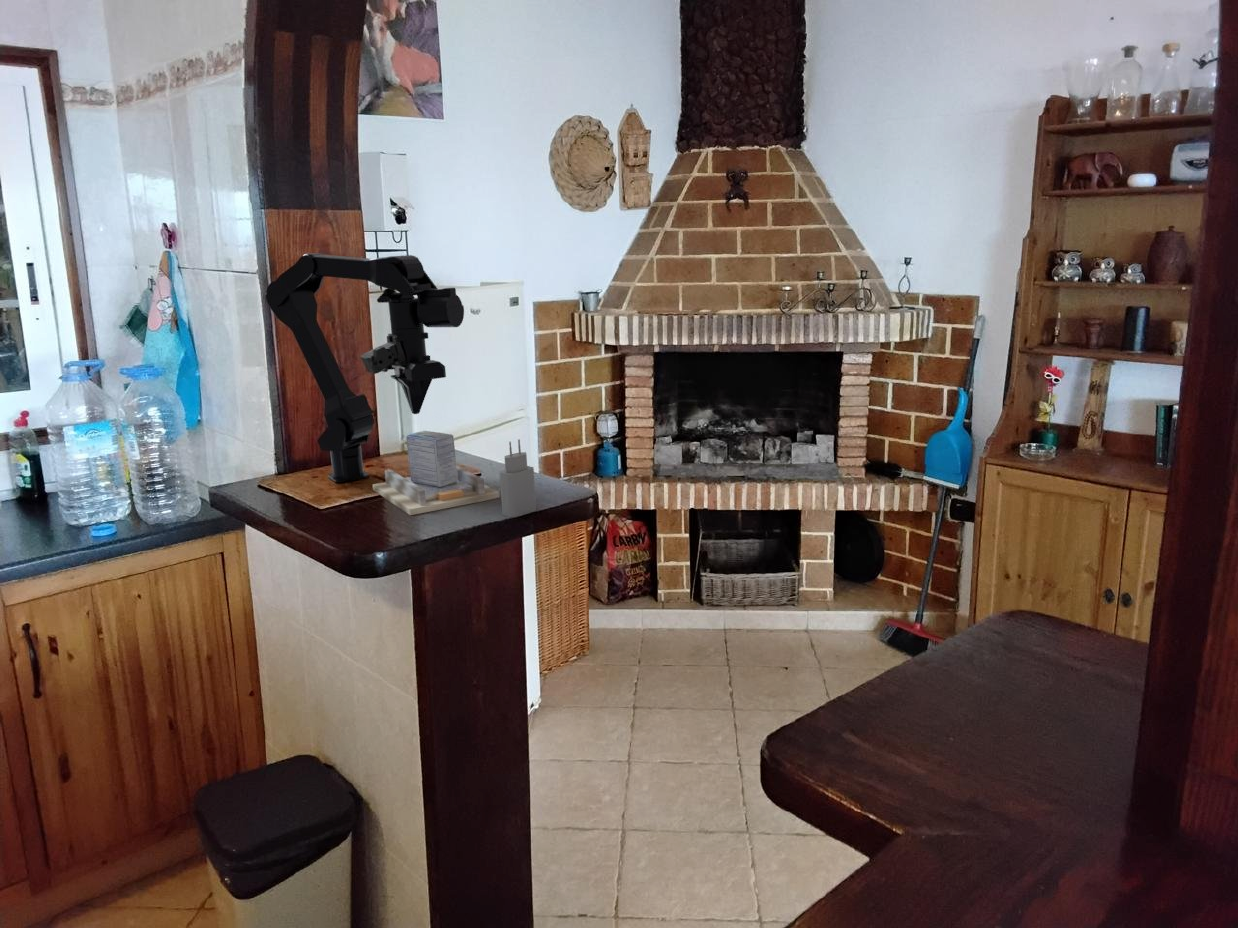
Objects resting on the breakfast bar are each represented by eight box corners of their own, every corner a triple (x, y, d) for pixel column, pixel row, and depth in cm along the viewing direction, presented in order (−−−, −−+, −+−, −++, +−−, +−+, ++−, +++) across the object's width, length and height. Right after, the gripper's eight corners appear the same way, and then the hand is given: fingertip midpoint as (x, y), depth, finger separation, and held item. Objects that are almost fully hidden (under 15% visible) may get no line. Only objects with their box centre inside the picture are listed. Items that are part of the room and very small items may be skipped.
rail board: (373, 489, 168) (370, 471, 167) (455, 475, 176) (454, 457, 175) (410, 515, 151) (408, 494, 151) (499, 497, 159) (498, 478, 159)
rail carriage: (396, 484, 167) (396, 479, 167) (443, 476, 172) (443, 470, 171) (427, 503, 154) (426, 497, 154) (477, 494, 159) (476, 488, 158)
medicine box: (458, 482, 163) (454, 434, 161) (439, 488, 159) (435, 439, 157) (429, 476, 168) (424, 429, 165) (409, 482, 164) (405, 434, 162)
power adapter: (538, 509, 151) (533, 438, 149) (512, 517, 148) (507, 444, 145) (525, 506, 154) (521, 436, 151) (500, 514, 150) (495, 442, 147)
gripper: (347, 328, 168) (357, 412, 172) (379, 335, 153) (389, 427, 157) (406, 323, 174) (414, 404, 178) (443, 329, 159) (450, 418, 162)
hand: (415, 413), depth 168 cm, fingers closed
